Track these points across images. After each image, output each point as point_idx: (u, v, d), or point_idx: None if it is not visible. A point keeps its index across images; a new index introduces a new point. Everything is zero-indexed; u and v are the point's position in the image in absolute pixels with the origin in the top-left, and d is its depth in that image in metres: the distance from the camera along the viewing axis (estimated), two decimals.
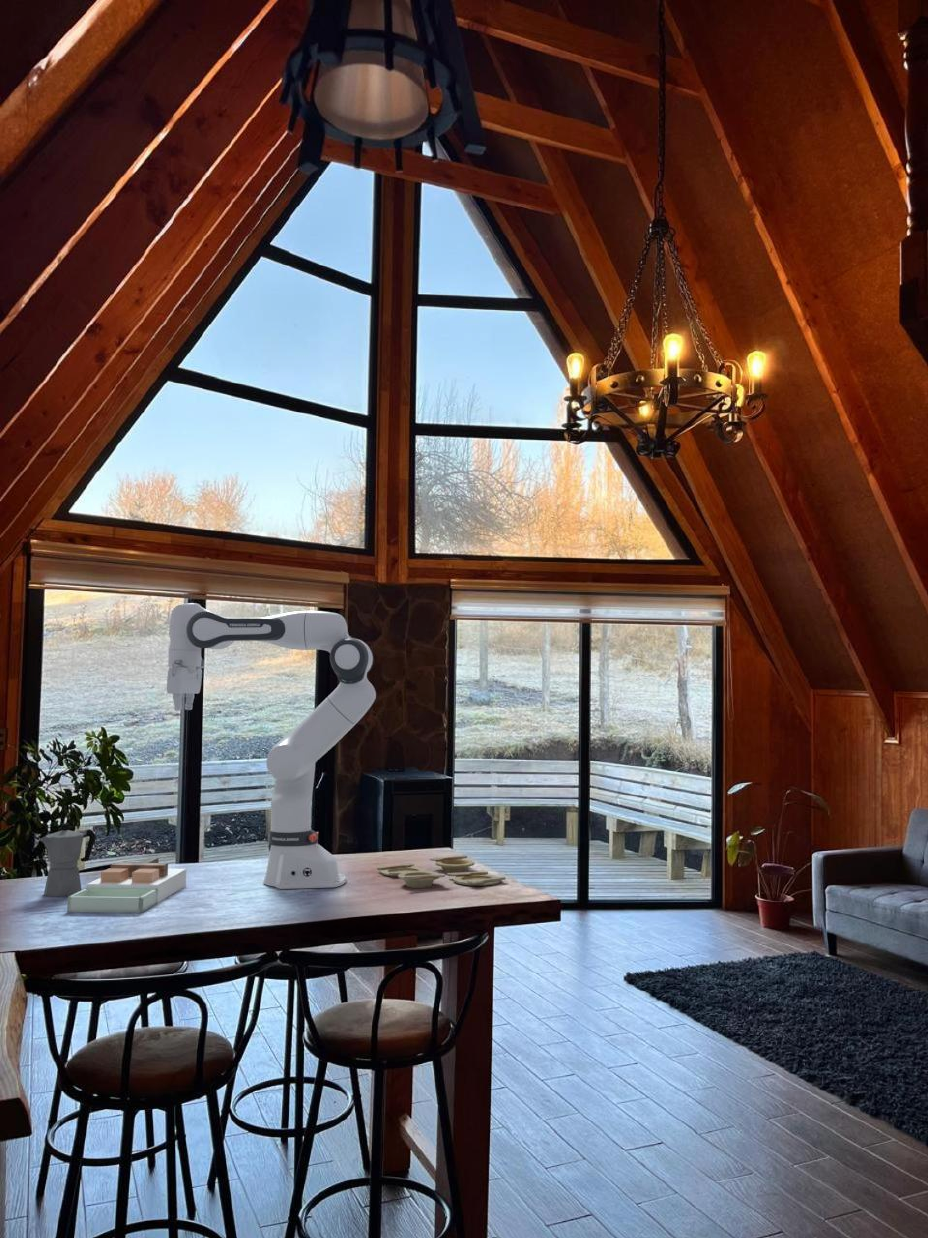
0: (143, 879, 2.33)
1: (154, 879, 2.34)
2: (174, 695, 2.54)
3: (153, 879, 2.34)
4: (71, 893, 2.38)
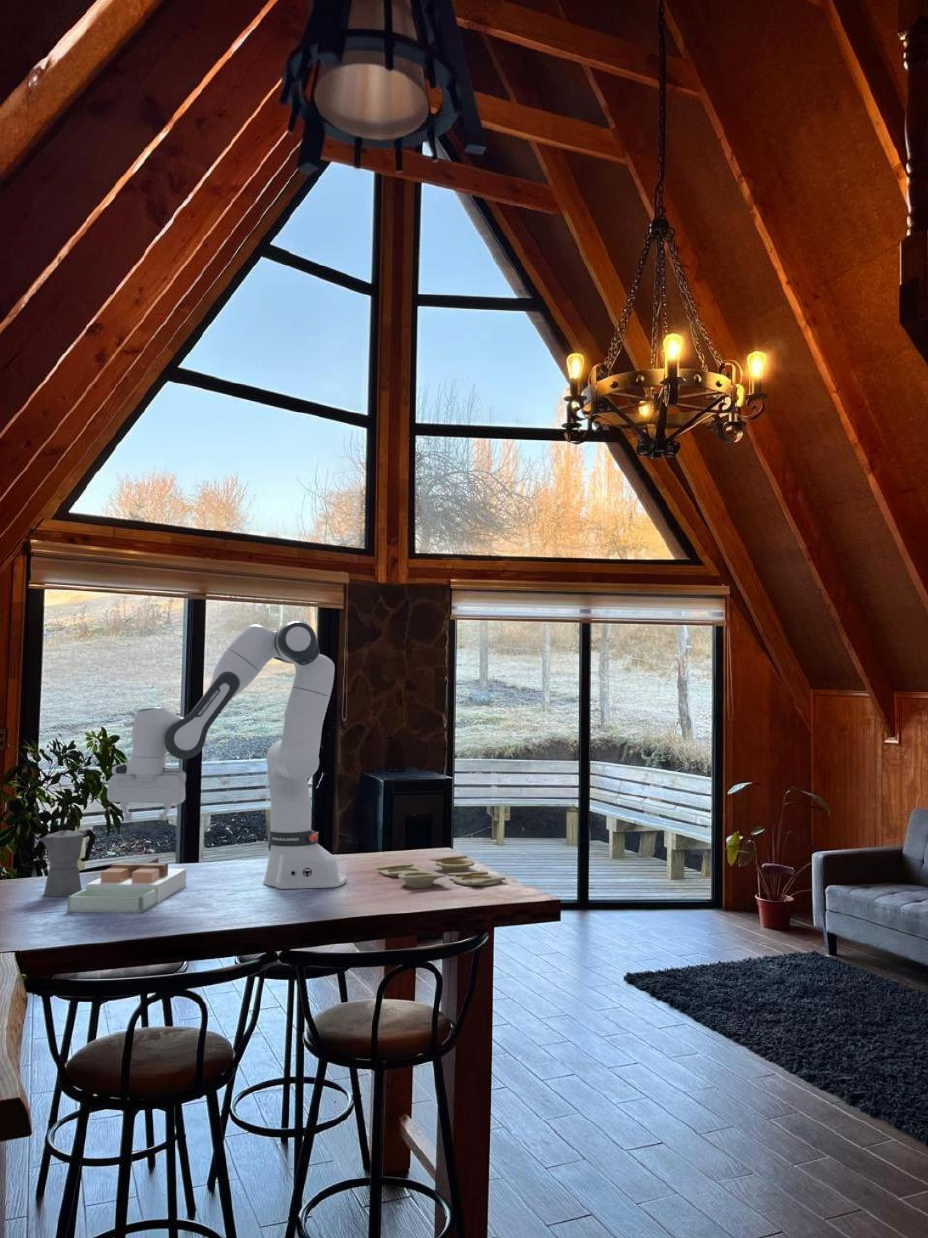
0: (143, 879, 2.33)
1: (154, 879, 2.34)
2: (169, 805, 2.46)
3: (153, 879, 2.34)
4: (71, 893, 2.38)
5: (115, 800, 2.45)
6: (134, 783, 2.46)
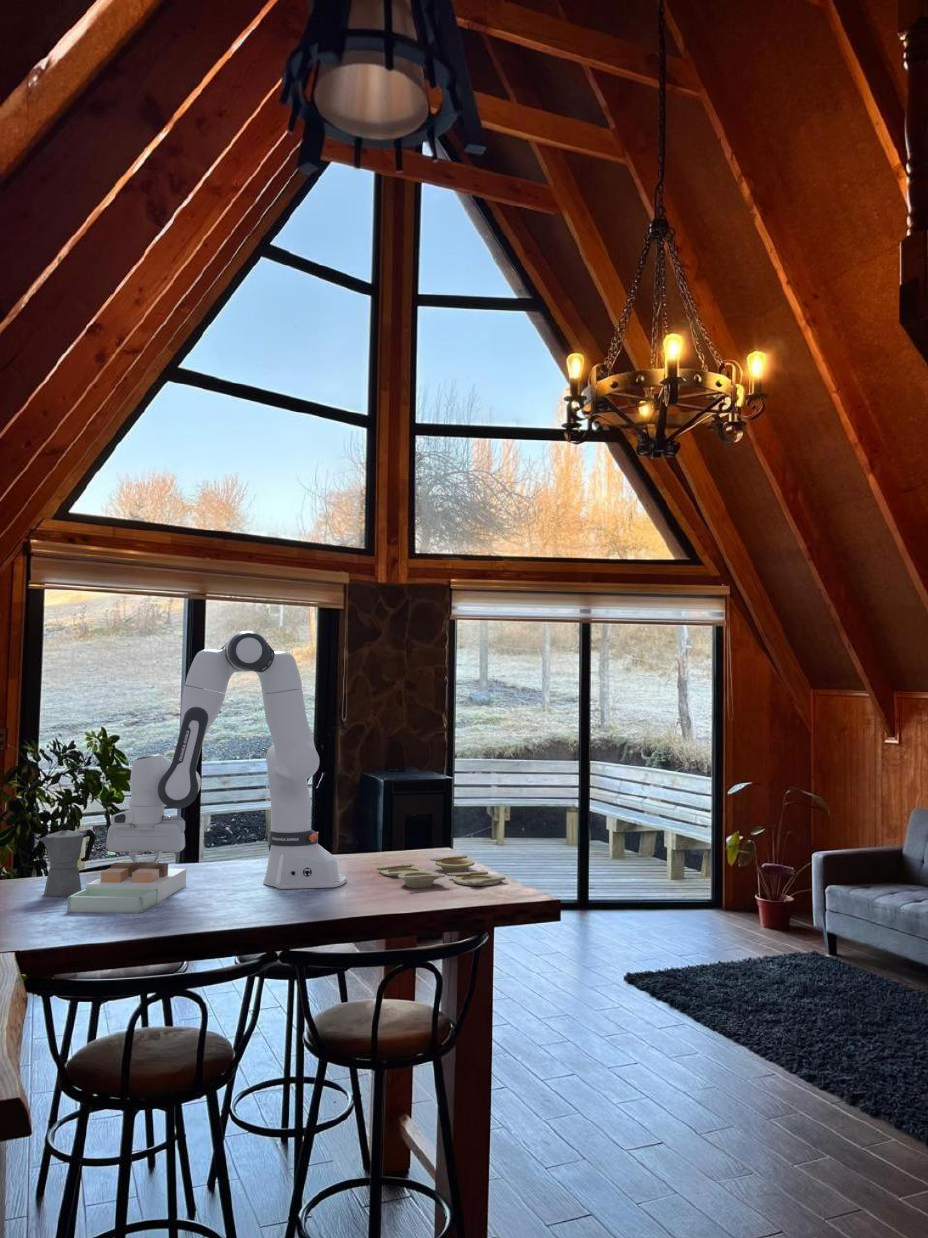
0: (143, 879, 2.33)
1: (154, 879, 2.34)
2: (159, 853, 2.45)
3: (153, 879, 2.34)
4: (71, 893, 2.38)
5: (114, 849, 2.44)
6: (133, 832, 2.45)
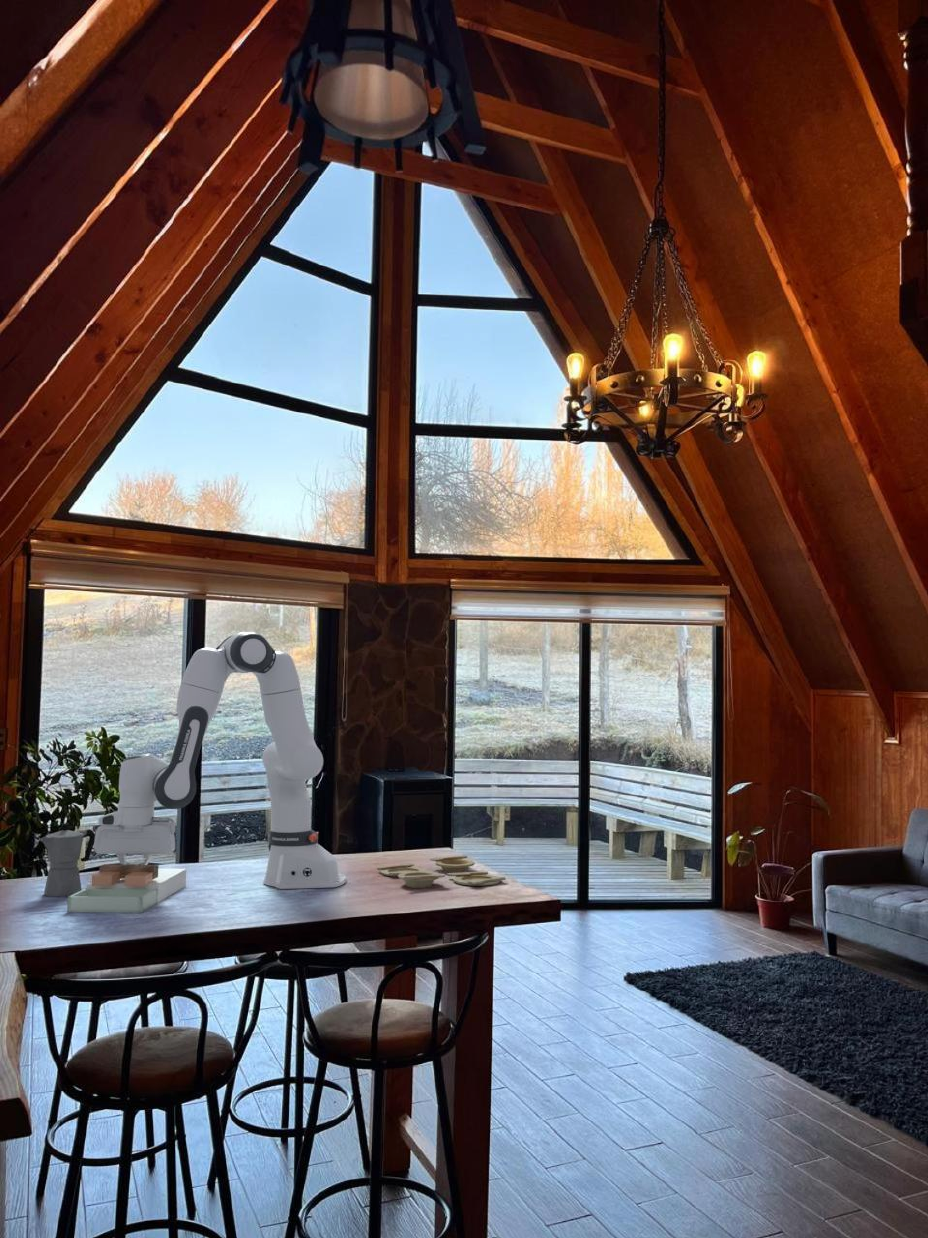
0: (136, 883, 2.28)
1: (147, 883, 2.30)
2: (149, 855, 2.38)
3: (146, 883, 2.29)
4: (71, 893, 2.38)
5: (102, 852, 2.37)
6: (122, 834, 2.38)
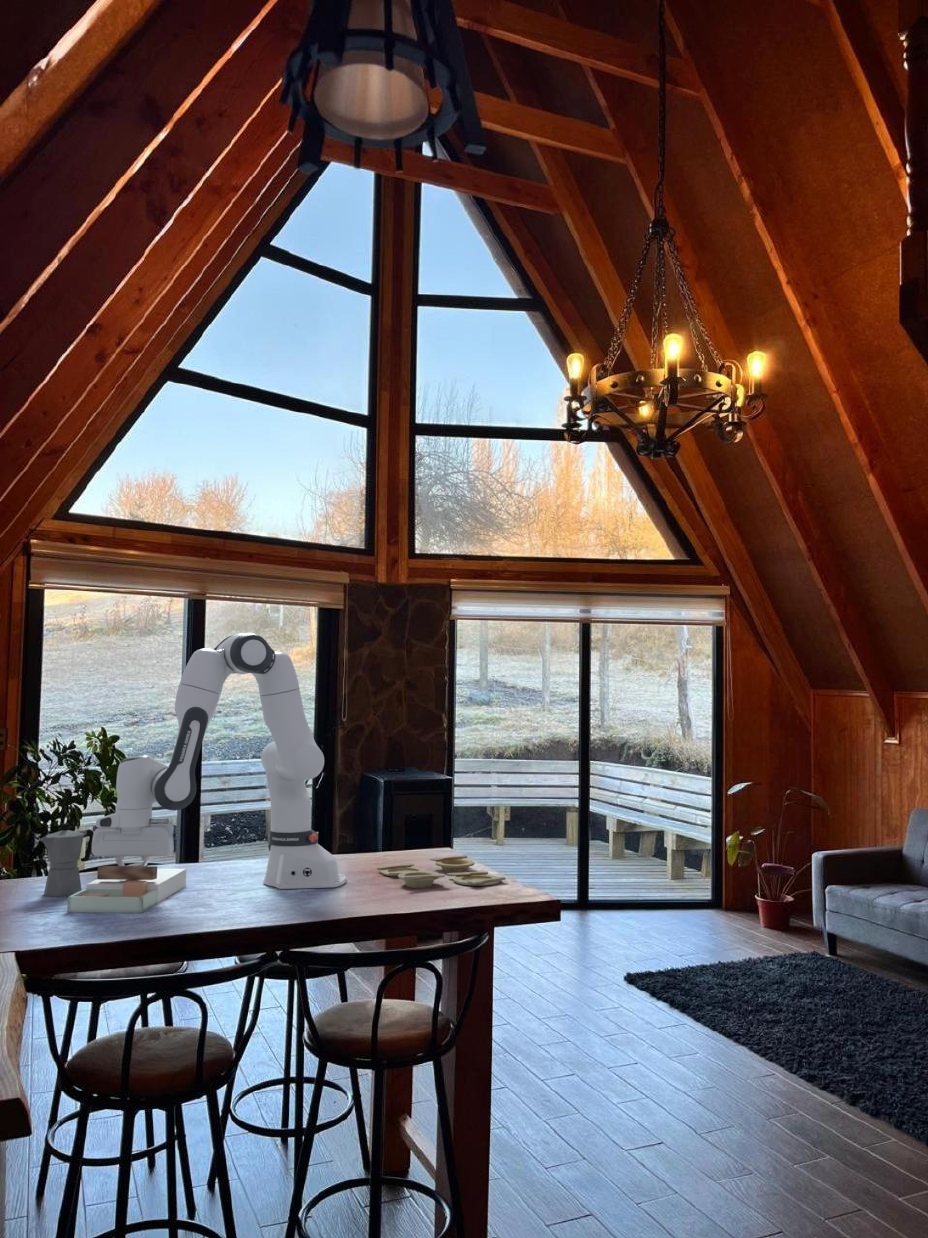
0: None
1: None
2: (147, 858, 2.36)
3: None
4: (71, 893, 2.38)
5: (100, 854, 2.35)
6: (119, 836, 2.35)
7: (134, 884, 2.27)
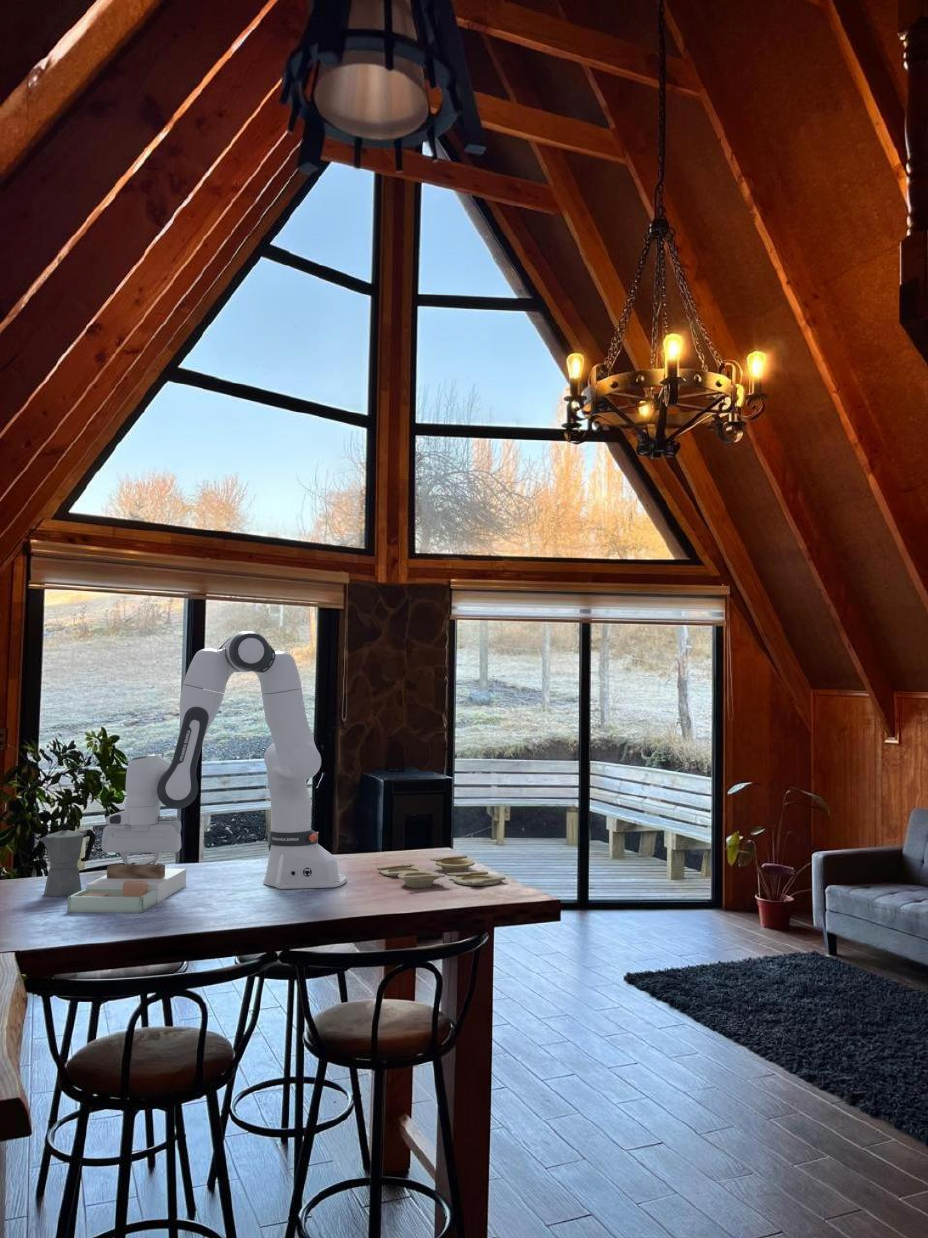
0: None
1: None
2: (159, 854, 2.42)
3: None
4: (71, 893, 2.38)
5: (110, 850, 2.41)
6: (129, 833, 2.42)
7: (134, 884, 2.27)
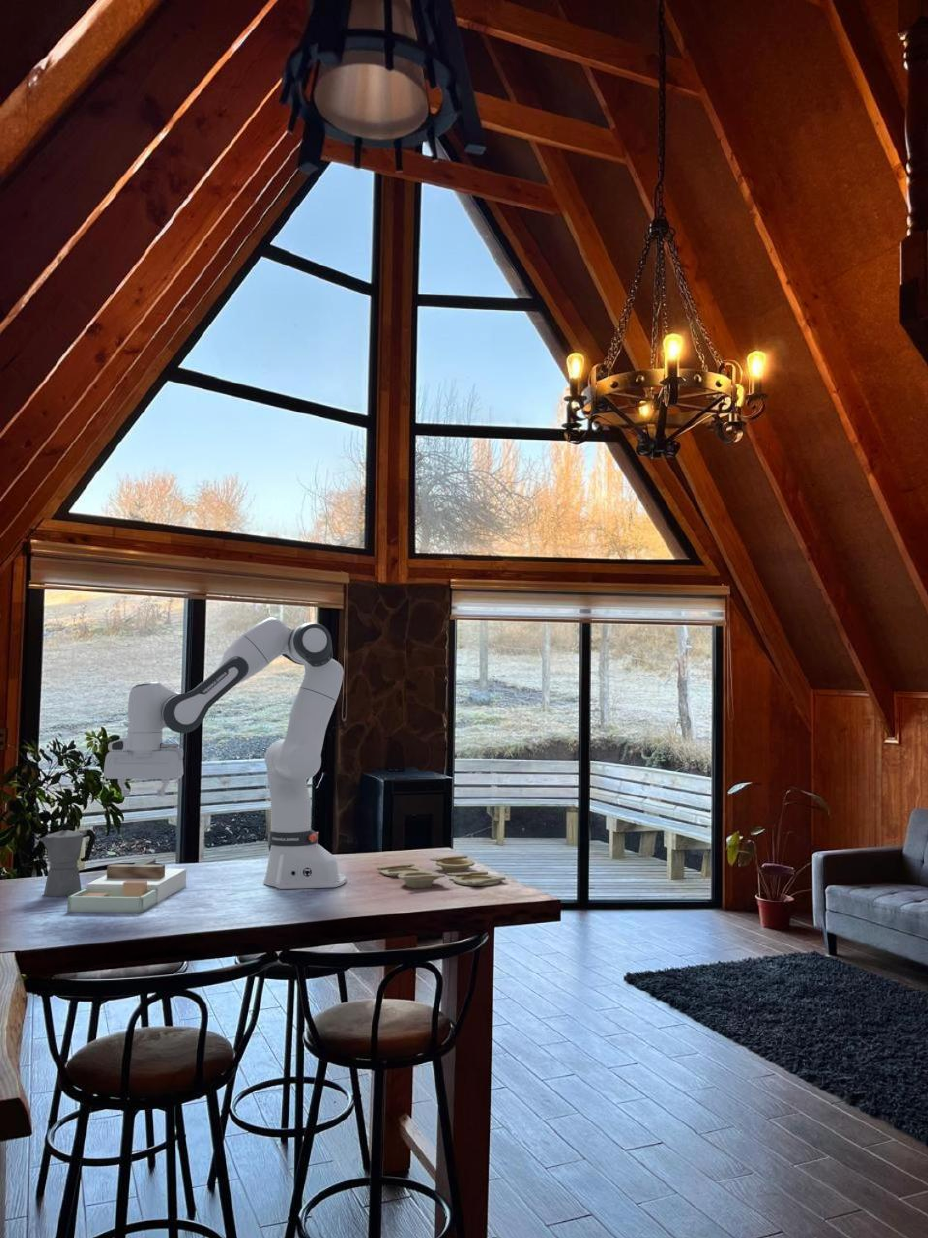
0: None
1: None
2: (167, 780, 2.43)
3: None
4: (71, 893, 2.38)
5: (112, 777, 2.43)
6: (131, 759, 2.43)
7: (134, 884, 2.27)
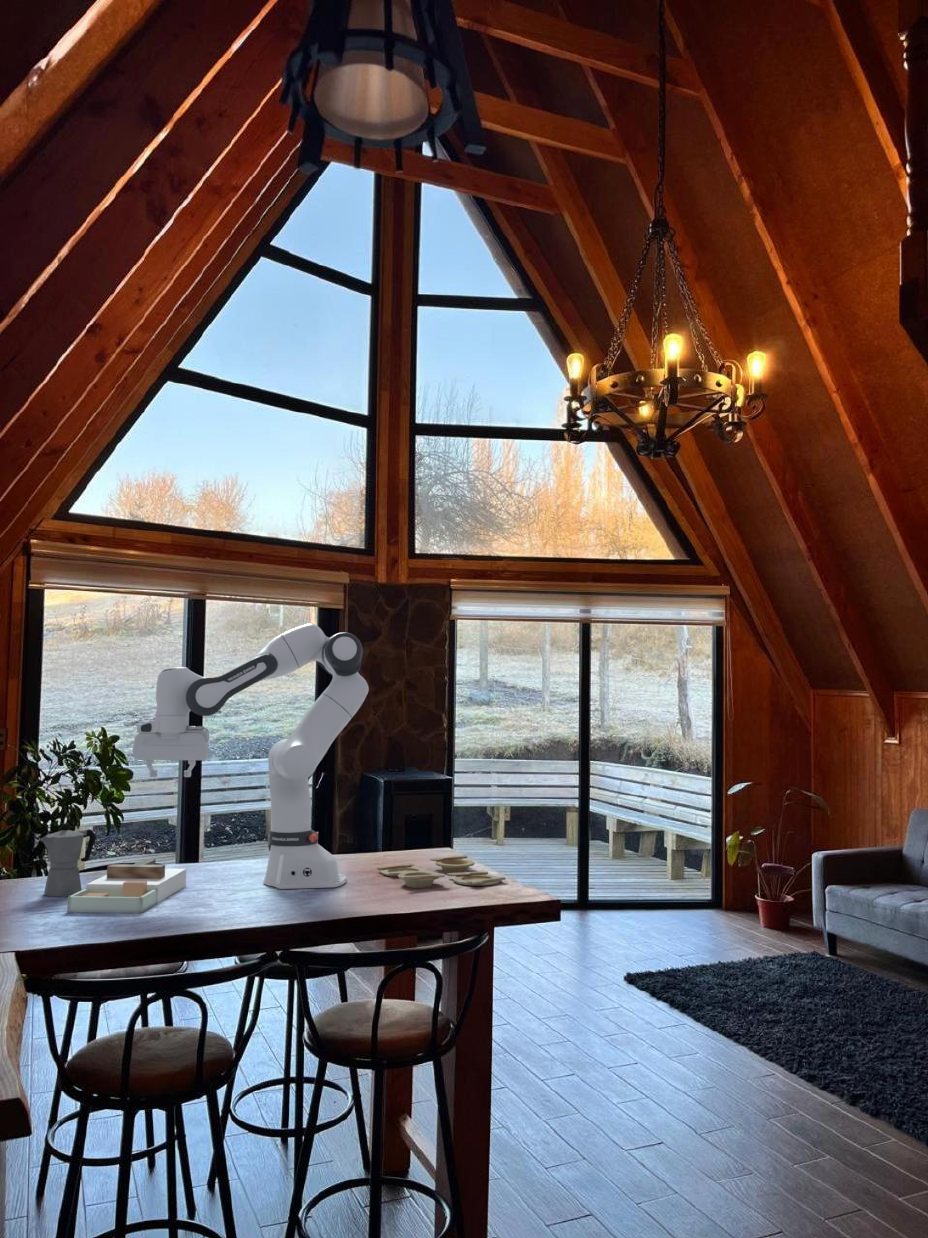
0: None
1: None
2: (193, 762, 2.52)
3: None
4: (71, 893, 2.38)
5: (141, 758, 2.52)
6: (159, 741, 2.52)
7: (134, 884, 2.27)
